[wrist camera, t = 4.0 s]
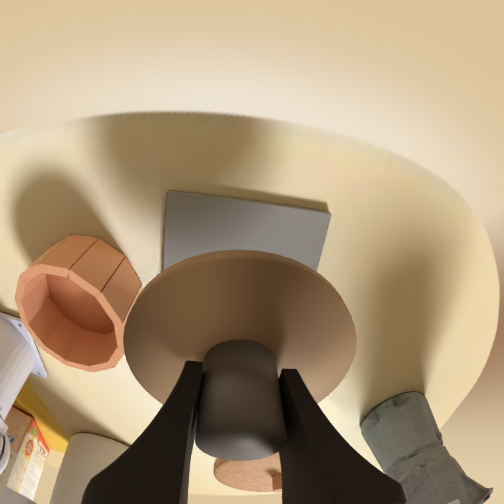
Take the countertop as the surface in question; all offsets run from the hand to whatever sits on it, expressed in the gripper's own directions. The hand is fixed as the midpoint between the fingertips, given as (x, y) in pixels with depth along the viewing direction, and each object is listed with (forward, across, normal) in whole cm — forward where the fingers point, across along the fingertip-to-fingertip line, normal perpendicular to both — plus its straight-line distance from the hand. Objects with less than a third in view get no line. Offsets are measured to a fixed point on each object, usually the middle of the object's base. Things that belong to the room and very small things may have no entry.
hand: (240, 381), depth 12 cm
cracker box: (+10, +31, +35) cm, 48 cm away
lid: (+2, 0, 0) cm, 2 cm away
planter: (+9, +11, +3) cm, 15 cm away
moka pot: (+10, -21, +18) cm, 29 cm away
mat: (+9, 0, 0) cm, 9 cm away
